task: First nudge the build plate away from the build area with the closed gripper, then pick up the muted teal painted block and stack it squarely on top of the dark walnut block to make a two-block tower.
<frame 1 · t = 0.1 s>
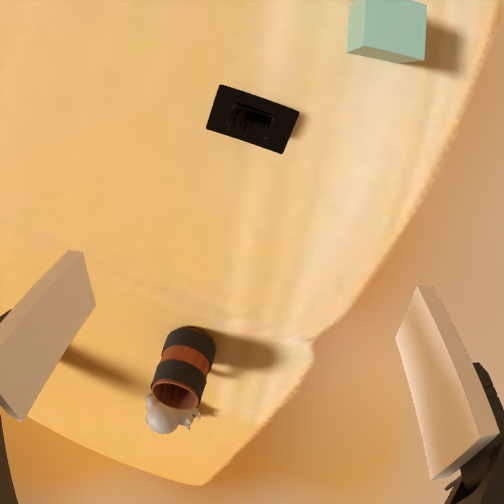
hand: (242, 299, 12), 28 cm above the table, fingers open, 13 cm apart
mug: (190, 347, 54), on the table
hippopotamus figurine: (175, 400, 64), on the table
teal block: (374, 34, 28), on the table
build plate: (252, 118, 35), on the table
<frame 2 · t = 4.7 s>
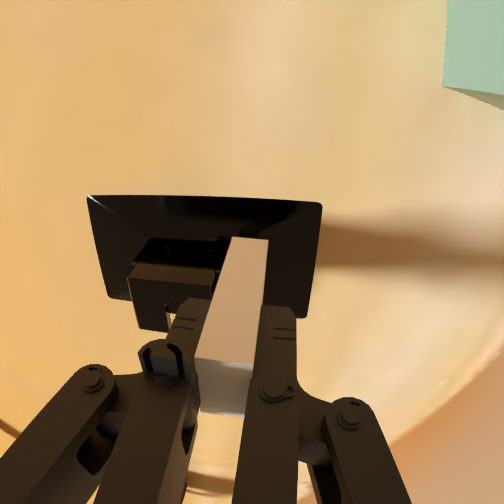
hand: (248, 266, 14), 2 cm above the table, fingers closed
teal block: (495, 49, 9), on the table
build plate: (197, 253, 17), on the table, touching gripper
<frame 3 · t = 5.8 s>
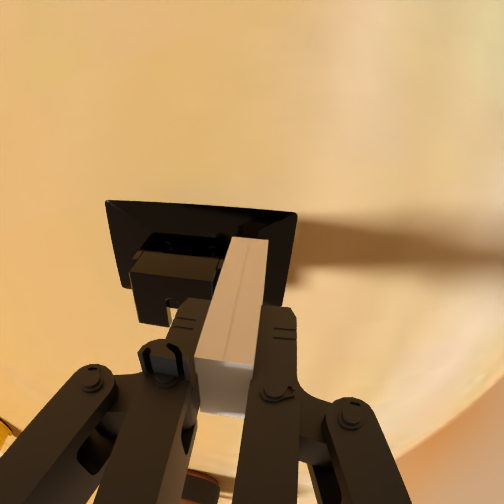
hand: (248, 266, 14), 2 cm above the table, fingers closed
mug: (187, 479, 36), on the table
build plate: (197, 249, 17), on the table
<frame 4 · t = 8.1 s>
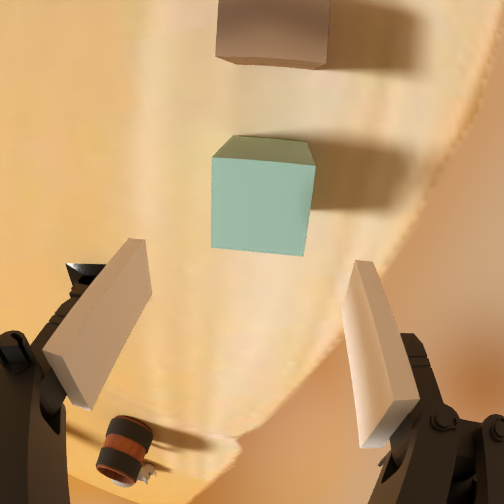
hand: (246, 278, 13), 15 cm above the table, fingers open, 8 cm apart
walnut block: (277, 31, 20), on the table
mug: (132, 428, 53), on the table
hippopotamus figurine: (135, 458, 63), on the table
teal block: (267, 173, 26), on the table
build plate: (104, 281, 35), on the table
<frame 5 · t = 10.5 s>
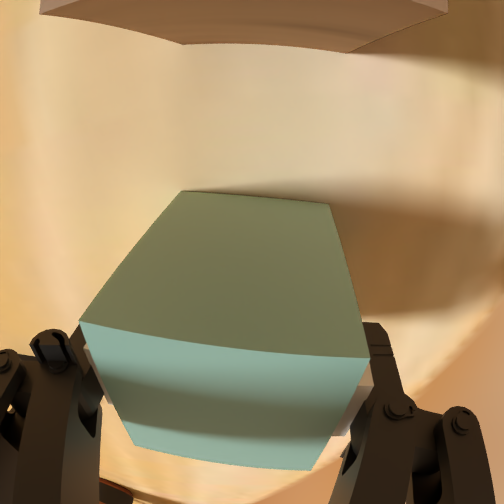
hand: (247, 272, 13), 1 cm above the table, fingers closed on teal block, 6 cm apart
mug: (111, 486, 41), on the table
teal block: (249, 260, 14), on the table, touching gripper
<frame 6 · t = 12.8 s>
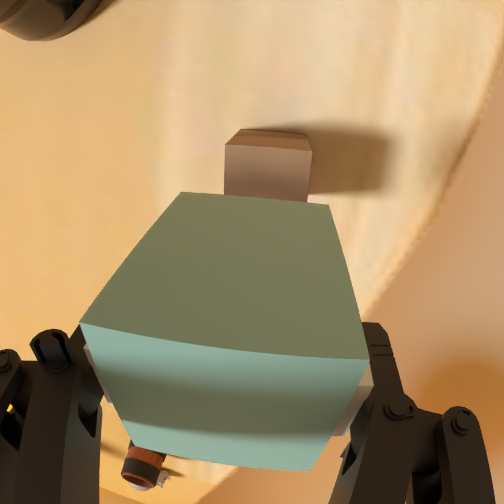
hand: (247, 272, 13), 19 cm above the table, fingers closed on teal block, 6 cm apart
walnut block: (271, 162, 30), on the table
mug: (150, 440, 62), on the table
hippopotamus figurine: (151, 465, 72), on the table
teal block: (249, 261, 14), point 18 cm above the table, touching gripper
when the fingers open (10 cm above the table, at t = 15.1 s): teal block drops 1 cm, resting on walnut block.
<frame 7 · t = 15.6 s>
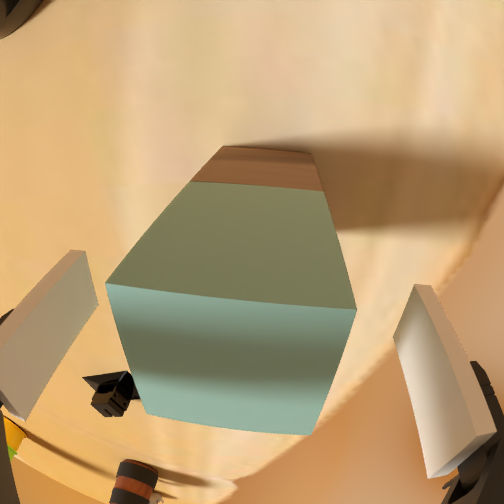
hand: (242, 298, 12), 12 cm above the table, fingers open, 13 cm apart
walnut block: (263, 190, 22), on the table, touching teal block
mug: (139, 468, 55), on the table
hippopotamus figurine: (143, 487, 65), on the table
teal block: (252, 245, 16), point 8 cm above the table, touching walnut block
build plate: (118, 383, 38), on the table
stacking cups: (13, 424, 61), on the table
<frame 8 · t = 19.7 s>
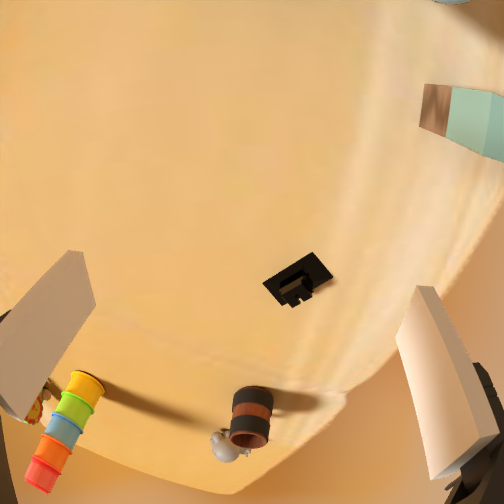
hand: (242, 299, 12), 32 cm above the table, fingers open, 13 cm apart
walnut block: (441, 110, 34), on the table, touching teal block
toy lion: (40, 381, 79), on the table
mug: (250, 399, 66), on the table
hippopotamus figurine: (234, 434, 76), on the table
teal block: (470, 118, 27), point 8 cm above the table, touching walnut block
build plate: (296, 277, 50), on the table
stacking cups: (88, 382, 72), on the table
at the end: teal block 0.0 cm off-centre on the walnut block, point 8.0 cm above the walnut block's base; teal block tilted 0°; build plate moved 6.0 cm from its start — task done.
